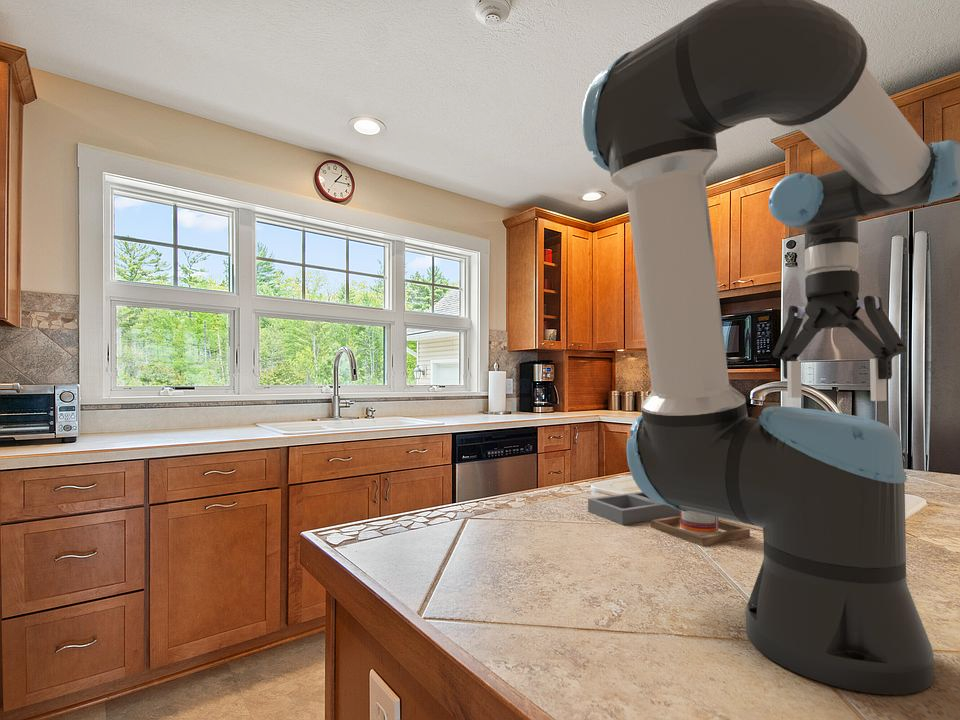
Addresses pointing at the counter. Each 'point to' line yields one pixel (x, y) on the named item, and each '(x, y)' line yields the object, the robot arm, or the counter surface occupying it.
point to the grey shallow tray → (630, 508)
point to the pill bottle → (698, 523)
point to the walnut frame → (730, 534)
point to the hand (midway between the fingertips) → (833, 399)
